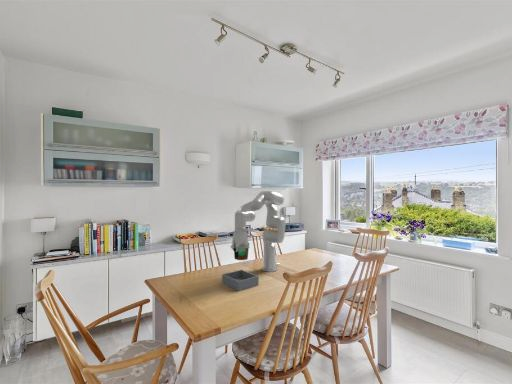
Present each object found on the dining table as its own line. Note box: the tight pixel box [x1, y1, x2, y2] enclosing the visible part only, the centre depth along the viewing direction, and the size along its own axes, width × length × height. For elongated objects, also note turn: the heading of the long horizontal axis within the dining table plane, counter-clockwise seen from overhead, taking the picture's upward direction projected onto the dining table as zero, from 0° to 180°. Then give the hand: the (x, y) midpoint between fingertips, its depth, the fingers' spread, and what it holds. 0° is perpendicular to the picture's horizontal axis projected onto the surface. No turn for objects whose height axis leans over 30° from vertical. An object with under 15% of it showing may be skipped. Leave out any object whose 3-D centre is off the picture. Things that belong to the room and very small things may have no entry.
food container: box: [233, 244, 251, 261], centre depth 184 cm, size 12×6×10 cm, turn 61°
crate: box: [221, 269, 259, 292], centre depth 184 cm, size 17×19×6 cm
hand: (240, 256), depth 184 cm, fingers closed on food container, 6 cm apart
